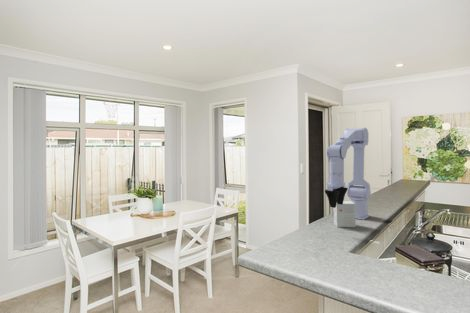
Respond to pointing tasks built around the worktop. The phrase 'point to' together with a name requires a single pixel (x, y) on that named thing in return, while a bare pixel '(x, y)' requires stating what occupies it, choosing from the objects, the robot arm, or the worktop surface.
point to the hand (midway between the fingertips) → (336, 205)
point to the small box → (345, 214)
